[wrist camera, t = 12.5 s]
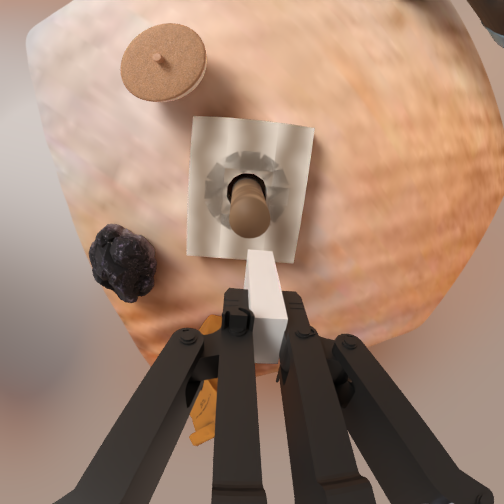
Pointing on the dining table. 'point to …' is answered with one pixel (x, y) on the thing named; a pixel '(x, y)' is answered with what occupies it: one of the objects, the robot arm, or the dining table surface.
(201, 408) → the coffee package
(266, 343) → the robot arm
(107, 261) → the crystal cluster
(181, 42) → the lidded jar
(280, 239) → the board
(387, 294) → the dining table surface
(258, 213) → the peg
